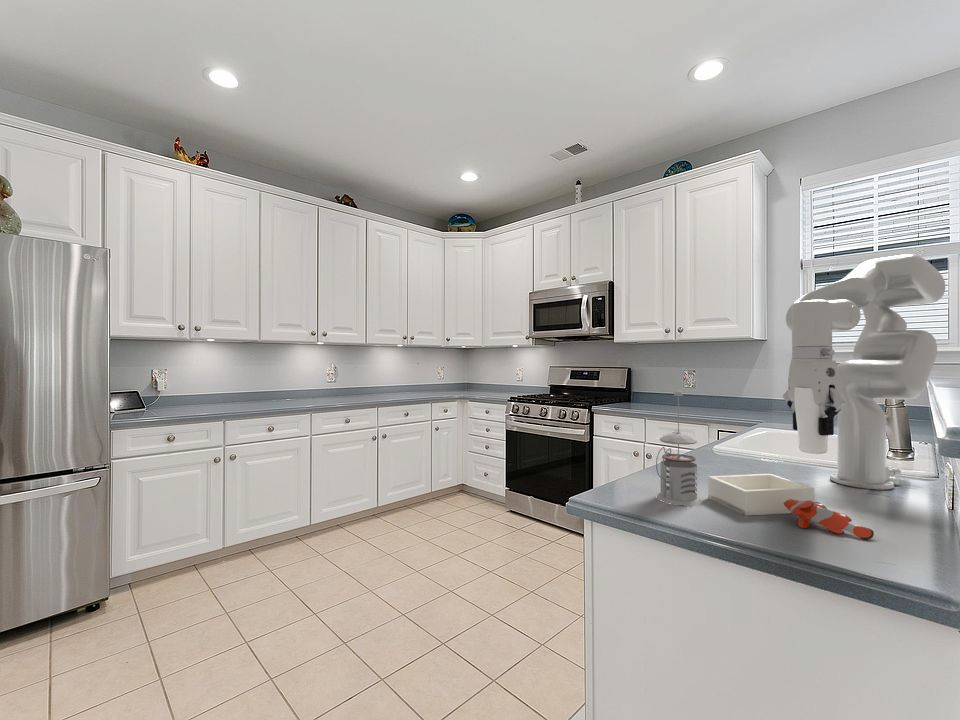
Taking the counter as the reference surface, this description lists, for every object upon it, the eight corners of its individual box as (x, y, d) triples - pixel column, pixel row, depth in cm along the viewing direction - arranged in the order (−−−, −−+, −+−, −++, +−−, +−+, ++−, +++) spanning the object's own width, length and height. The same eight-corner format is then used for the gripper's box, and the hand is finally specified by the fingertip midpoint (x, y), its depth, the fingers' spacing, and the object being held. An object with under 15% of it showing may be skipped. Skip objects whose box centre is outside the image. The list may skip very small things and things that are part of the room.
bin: (770, 494, 108) (770, 473, 108) (814, 511, 96) (814, 488, 96) (708, 497, 106) (708, 476, 106) (745, 515, 94) (745, 491, 94)
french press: (711, 501, 104) (711, 391, 103) (678, 510, 98) (678, 393, 97) (673, 490, 112) (673, 388, 112) (641, 498, 106) (641, 390, 106)
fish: (775, 496, 92) (807, 492, 94) (775, 520, 92) (807, 515, 94) (843, 518, 79) (878, 513, 82) (843, 545, 79) (878, 539, 82)
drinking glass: (839, 454, 103) (838, 387, 102) (813, 456, 102) (812, 388, 101) (812, 447, 109) (811, 385, 109) (787, 449, 108) (787, 386, 108)
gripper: (862, 354, 97) (863, 438, 97) (795, 353, 114) (796, 425, 115) (831, 355, 96) (832, 440, 96) (768, 354, 113) (769, 427, 113)
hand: (812, 431), depth 105 cm, fingers closed on drinking glass, 6 cm apart
